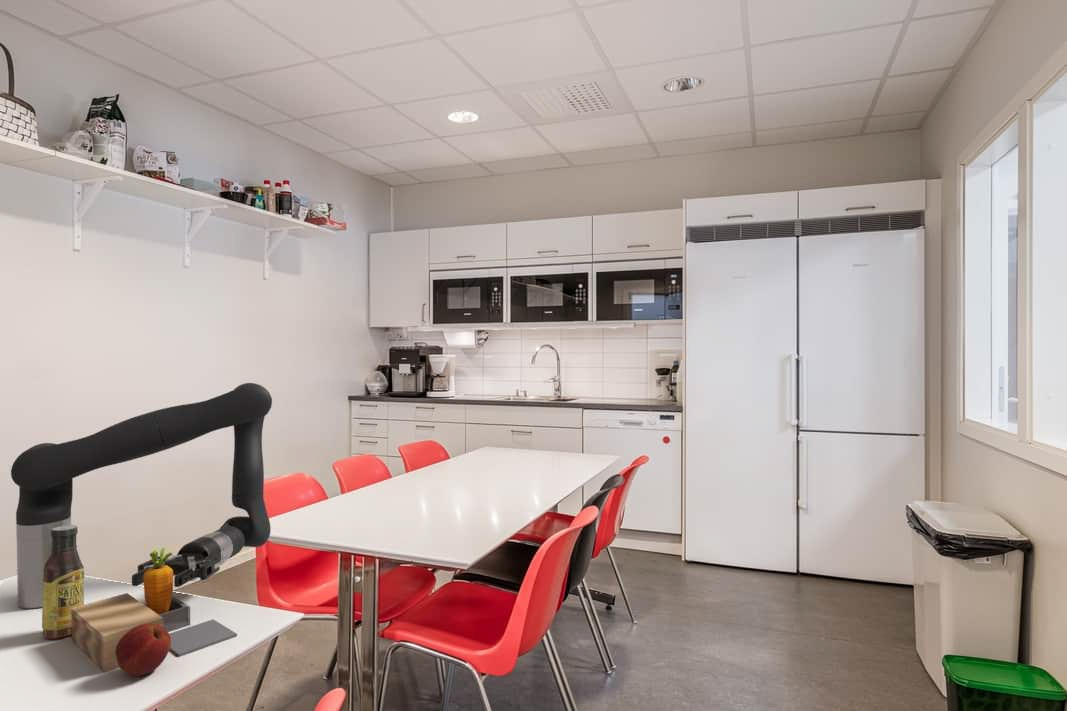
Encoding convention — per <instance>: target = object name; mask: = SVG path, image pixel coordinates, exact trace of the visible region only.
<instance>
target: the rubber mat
mask: <svg viewBox="0 0 1067 711" xmlns="http://www.w3.org/2000/svg"><path fill="white" fill-rule="evenodd" d="M169 635H170V637H171V646H170V650H169V651H171V652H172V653H174V654H175V655H176V656H177V657H181V656H182V657H183V656H185V655H188V654H191V653H194V652H196V651H199V650H202V649H204V648H207V647H210V646H212V645H215V644H218V643H221V642H224V641H227V640H230V639H232V638H236V637H238V633H236V632H235V631H233V630H232V629H230V628H228V627H227V626H225V625H223V624H222V623H221V622H219V621H217V620H215V619H214V618H213V619H209V620H207V621H203V622H201V623H198V624H195V625H192V626H188V627H186V628H185V627H184V628H183V629H179V630H177V631H174V632H170V633H169Z"/></svg>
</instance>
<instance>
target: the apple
mask: <svg viewBox="0 0 1067 711" xmlns="http://www.w3.org/2000/svg"><path fill="white" fill-rule="evenodd" d="M169 634H170V633H169V632H167V631H166V629H164V628H163V627H161V626H160V625H157V624H152V623H145V624H141V625H138V626H136V627H134V628H133V629H131V630H130V631H128V632H127V633H126V634H125V635H124V636H123V637H122V638H121V639H120V641H119V642H118V644H117V647H116V653H115V654H116V659H117V662H118V665H119V668H120V670H121V671H122V672H123V673H125V674H127V675H129V676H135V677H139V676H144V675H149V673H152V672H154V671H155V670H157V668H158V667H160V666H161V664H163V662H164V660H166V657H167V656H168V654H169V652H170V651H171V650H170V646H171V637H170V635H169Z"/></svg>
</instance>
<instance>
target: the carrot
mask: <svg viewBox="0 0 1067 711" xmlns="http://www.w3.org/2000/svg"><path fill="white" fill-rule="evenodd" d="M165 552H166V547H162V548H161V550H160V553H159V551H158V550H153V551H151V552H150V553H149V557H150V558H151V559H152V560H153V564H154V567H152V568H150V569H148V570H147V571H146V572H145V573H144V577H143V578H144V583H143V592H144V599H145V603H146V604H147V607H148V608H150V609H151V610H152V611H154V612H155V613H157V614H158V615H159V614H162V613H165V612H168V611H169V609H170V604H171V599H172V597H173V594H174V576H173V570H172V568H170V567H169V566H167V565H164V563H165V561H166V560H167V559H168V558H170V557H172V555H173V556H174V554H173V552H172V551H170V552H168V553H166V554H165ZM159 556H160V558H159V561H158V557H159Z"/></svg>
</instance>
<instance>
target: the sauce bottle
mask: <svg viewBox="0 0 1067 711" xmlns="http://www.w3.org/2000/svg"><path fill="white" fill-rule="evenodd" d="M78 532H79V531H78V526H77V525H75V524H71V525H67V526H60V527H55V528H52V529H51V537H52V549H51V551H52V554H51V556H50V557H49V559H48V560H47V562H46V564H45V566H44V579H43V603H42V607H41V608H42V610H41V611H42V613H41V628H42V636H43V638H44V639H48V640H56V639H62V638H66V637H71V636H72V621H71V608H73V607H77V606H81V605H85V604H84V602H85V601H84V600H85V598H84V597H85V595H84V594H85V587H84V586H85V581H84V580H85V568H84V565H83V563H82V561H81V558H80V555H79V552H78V549H77V548H78V545H77V534H78Z"/></svg>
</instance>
